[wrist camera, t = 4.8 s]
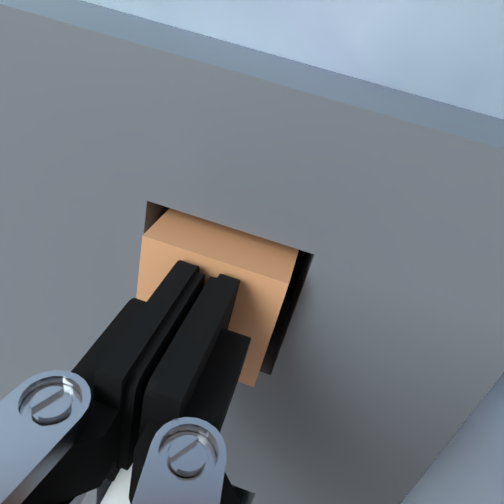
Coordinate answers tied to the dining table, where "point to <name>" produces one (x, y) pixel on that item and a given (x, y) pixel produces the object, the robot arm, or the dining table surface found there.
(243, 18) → the dining table surface
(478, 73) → the dining table surface
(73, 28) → the housing
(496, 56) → the dining table surface
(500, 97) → the dining table surface
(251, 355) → the tan cube
